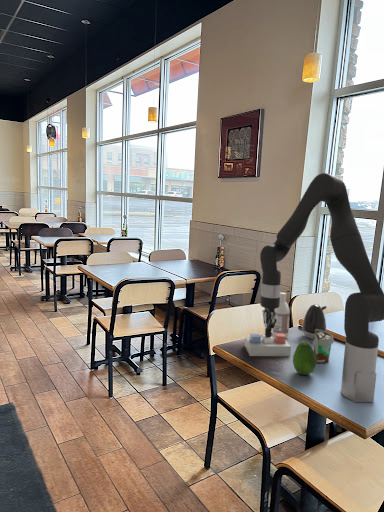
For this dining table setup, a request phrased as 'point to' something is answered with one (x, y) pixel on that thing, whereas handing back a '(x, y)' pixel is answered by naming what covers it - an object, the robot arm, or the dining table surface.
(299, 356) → the avocado
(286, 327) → the bath foam
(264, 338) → the white key
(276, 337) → the red key
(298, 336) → the dining table surface
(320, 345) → the food container
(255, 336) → the blue key
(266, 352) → the button panel
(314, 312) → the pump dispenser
